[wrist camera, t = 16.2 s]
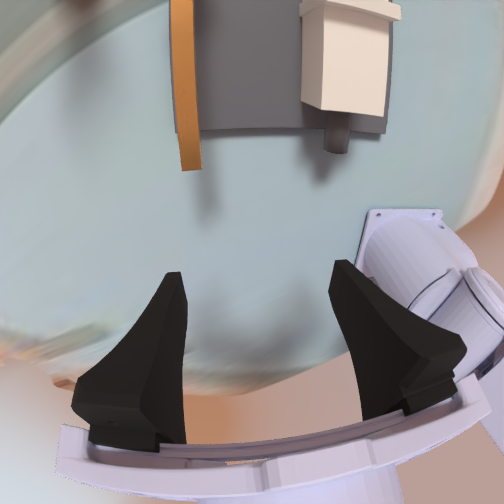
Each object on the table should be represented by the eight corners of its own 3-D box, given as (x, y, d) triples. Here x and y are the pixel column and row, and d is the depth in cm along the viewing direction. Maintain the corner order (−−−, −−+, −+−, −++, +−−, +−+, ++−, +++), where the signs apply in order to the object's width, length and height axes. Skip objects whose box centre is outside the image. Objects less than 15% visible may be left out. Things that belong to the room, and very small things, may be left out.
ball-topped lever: (215, 162, 14) (215, 169, 14) (171, 166, 14) (168, 174, 13) (210, -83, 5) (209, -92, 4) (163, -77, 5) (159, -85, 4)
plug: (356, -53, 9) (391, -74, 5) (352, 143, 19) (387, 168, 15) (297, -66, 8) (319, -96, 4) (296, 141, 19) (319, 165, 14)
